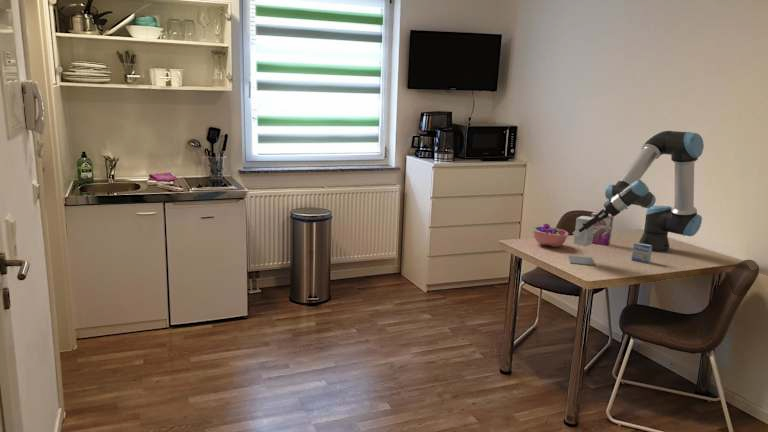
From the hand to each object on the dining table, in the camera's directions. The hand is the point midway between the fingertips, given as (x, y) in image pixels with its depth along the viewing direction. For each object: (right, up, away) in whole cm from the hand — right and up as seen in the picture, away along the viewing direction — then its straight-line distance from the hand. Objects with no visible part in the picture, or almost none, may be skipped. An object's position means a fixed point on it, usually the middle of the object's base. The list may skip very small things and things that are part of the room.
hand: (576, 233), depth 275 cm
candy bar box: (+25, -7, +38) cm, 46 cm away
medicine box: (+33, -14, +5) cm, 37 cm away
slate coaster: (+3, -13, +1) cm, 14 cm away
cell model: (-5, -8, +28) cm, 30 cm away
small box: (+3, -5, -1) cm, 6 cm away
